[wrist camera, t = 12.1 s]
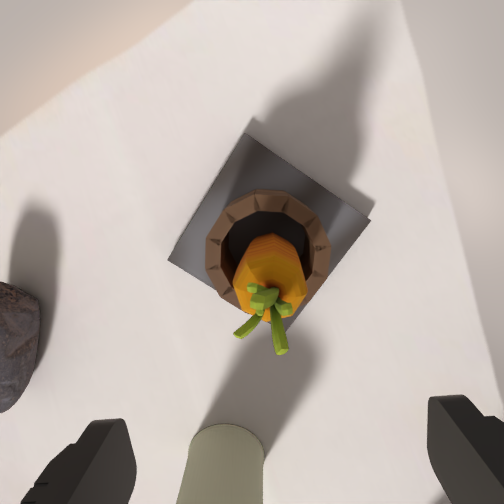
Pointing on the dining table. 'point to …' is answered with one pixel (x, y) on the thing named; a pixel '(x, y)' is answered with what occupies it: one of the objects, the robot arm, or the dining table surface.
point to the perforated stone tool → (16, 342)
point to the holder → (266, 222)
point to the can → (223, 467)
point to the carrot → (269, 286)
